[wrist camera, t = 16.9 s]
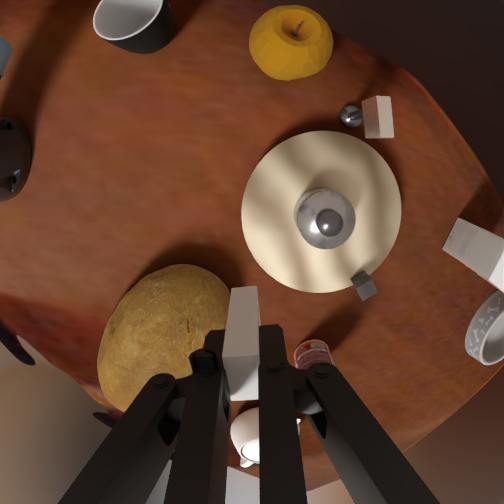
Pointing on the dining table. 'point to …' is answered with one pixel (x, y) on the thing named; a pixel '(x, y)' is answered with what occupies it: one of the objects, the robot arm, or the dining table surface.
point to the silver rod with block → (371, 117)
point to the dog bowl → (487, 331)
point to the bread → (159, 329)
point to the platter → (338, 179)
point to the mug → (135, 24)
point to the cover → (324, 217)
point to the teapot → (248, 436)
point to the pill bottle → (312, 354)
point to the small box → (477, 251)
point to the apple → (291, 42)
